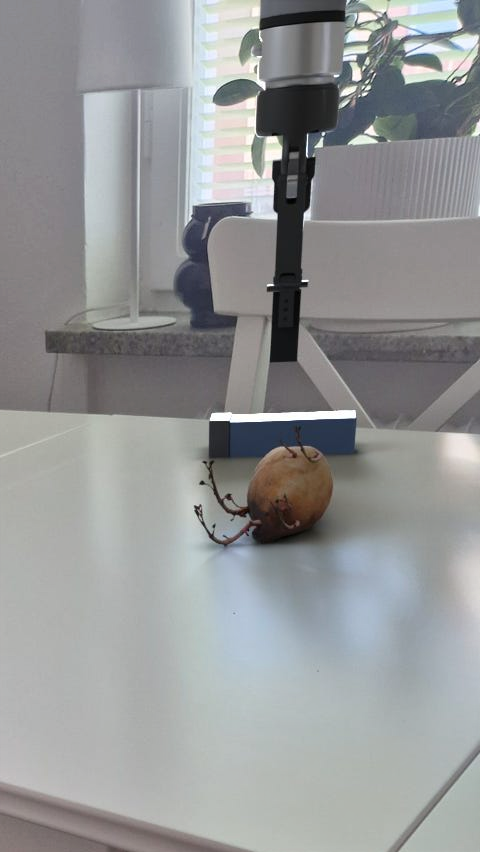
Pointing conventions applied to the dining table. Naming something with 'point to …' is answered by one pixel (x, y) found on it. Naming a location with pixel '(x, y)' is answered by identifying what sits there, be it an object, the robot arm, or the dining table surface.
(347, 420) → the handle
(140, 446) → the dining table surface
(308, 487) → the vegetable
